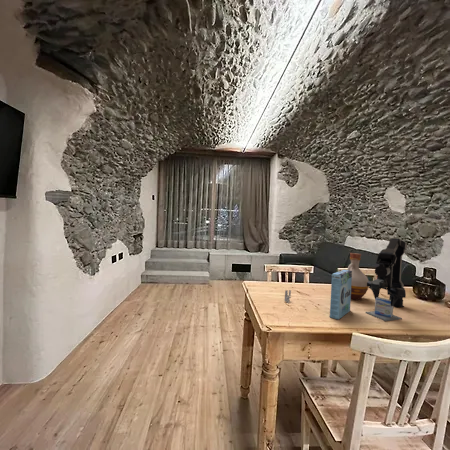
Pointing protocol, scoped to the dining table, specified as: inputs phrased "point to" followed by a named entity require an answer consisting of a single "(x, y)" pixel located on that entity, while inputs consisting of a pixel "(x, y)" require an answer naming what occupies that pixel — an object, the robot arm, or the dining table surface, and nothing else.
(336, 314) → the gum box
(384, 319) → the slate board
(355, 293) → the jug
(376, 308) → the medicine box
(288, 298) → the architectural model
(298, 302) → the dining table surface
